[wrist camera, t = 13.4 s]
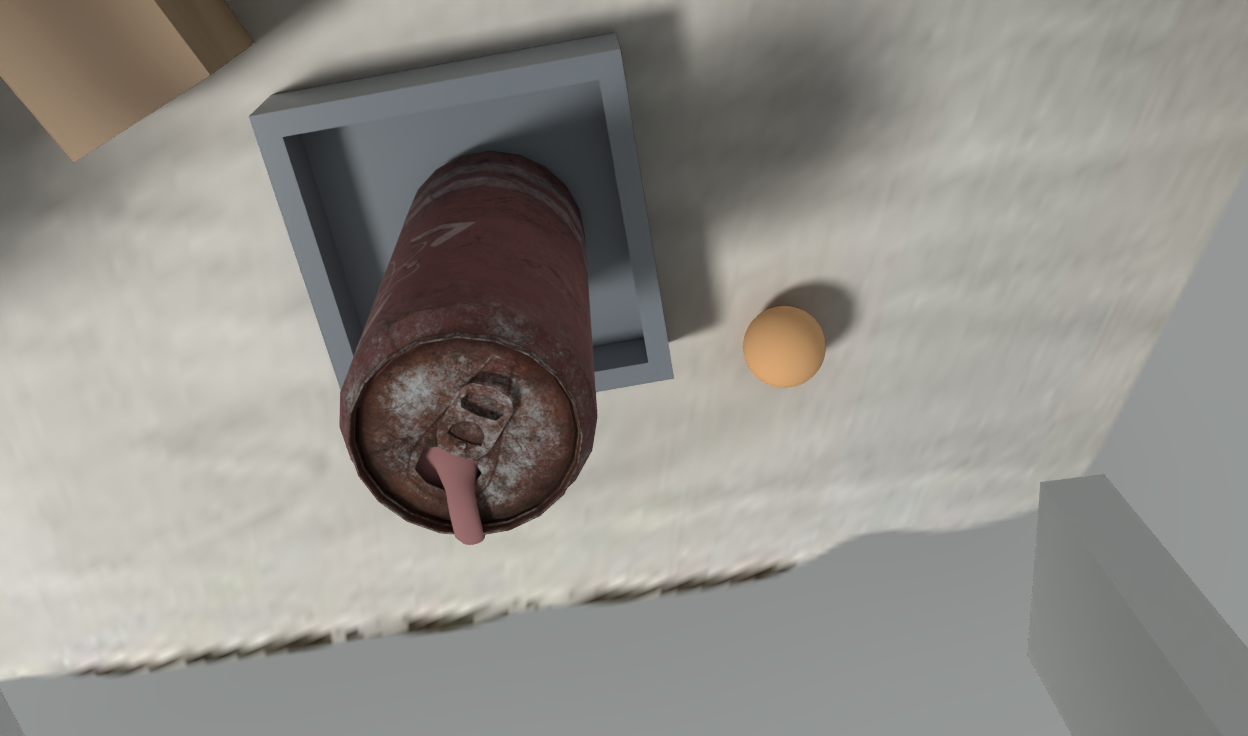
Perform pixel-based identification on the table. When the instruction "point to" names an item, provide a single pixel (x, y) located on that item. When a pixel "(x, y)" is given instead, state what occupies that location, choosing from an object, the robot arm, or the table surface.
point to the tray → (442, 131)
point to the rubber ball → (784, 346)
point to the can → (477, 353)
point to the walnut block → (110, 60)
